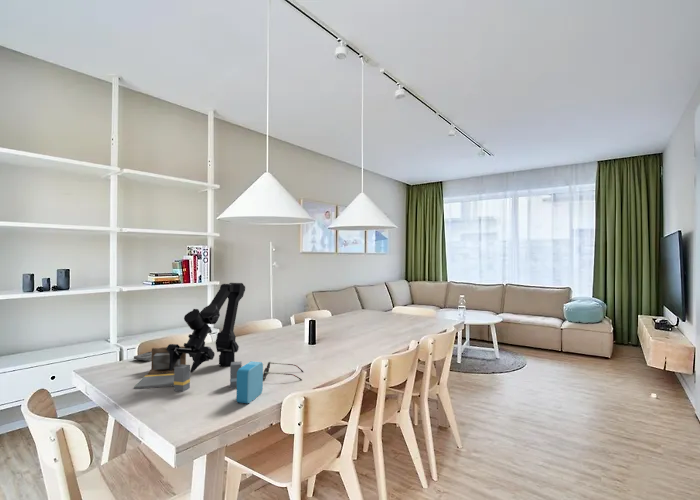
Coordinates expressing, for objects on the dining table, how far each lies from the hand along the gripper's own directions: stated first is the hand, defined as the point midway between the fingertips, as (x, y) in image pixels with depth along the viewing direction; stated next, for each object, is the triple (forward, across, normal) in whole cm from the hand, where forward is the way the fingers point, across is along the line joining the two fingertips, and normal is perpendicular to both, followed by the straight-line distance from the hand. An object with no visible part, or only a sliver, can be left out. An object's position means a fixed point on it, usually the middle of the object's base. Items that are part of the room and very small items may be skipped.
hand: (180, 371), depth 142 cm
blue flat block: (+6, -30, -5) cm, 30 cm away
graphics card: (-20, +43, -31) cm, 56 cm away
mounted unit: (-8, +20, -19) cm, 29 cm away
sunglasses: (-12, -33, -23) cm, 42 cm away
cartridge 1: (+4, 0, -6) cm, 7 cm away
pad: (+1, +15, -10) cm, 17 cm away
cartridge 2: (-2, -18, -12) cm, 22 cm away
